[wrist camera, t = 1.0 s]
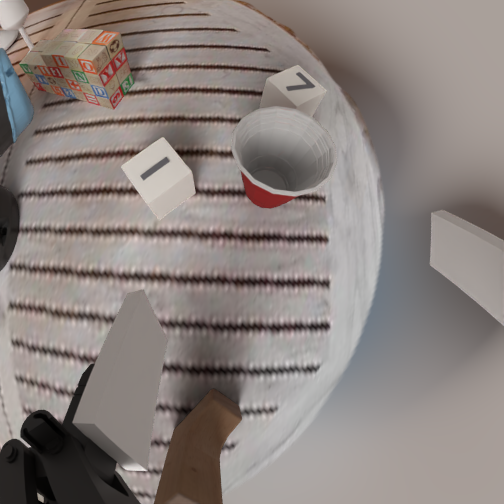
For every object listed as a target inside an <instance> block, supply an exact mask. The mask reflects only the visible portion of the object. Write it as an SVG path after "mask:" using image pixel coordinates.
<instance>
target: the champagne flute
mask: <svg viewBox="0 0 504 504" xmlns="http://www.w3.org/2000/svg"><path fill="white" fill-rule="evenodd" d="M28 12H29V8H28V7H27V5H26V4H25V2H24V1H23V0H0V24H1V27H2V29H3V30H7V31H11V30H17V29H18V30H19V32H20V33H21V35H22V37H23V38H24V40H25V42H26V44H27V45H28V47H29V49H30V51H31V49H32V48H33V47H34V45H33V43H32V42H31V40H30V38H29V36H28V35H27V33H26V31H25V29H24V27H23V25H24V23H25V21H26V18H27V16H28ZM30 51H29V52H30ZM29 52H28V53H29ZM28 53H27V54H28Z"/></svg>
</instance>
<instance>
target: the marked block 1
mask: <svg viewBox="0 0 504 504" xmlns="http://www.w3.org/2000/svg"><path fill="white" fill-rule="evenodd" d="M121 168H122V169H123V171H124V172H125V174H126V175H127V177H128V178H129V180H130V181H131V182H132V184H133V185H134V187H135V188H136V190H137V191H138V192H139V194H140V195H141V197H142V198H143V199H144V201H145V202H146V204H147V205H148V206H149V208H150V209H151V210H152V212H153V213H154V215H155V216H156V217H157V219H158V220H161V219H162V218H163V217H165V216H166V215H167V214H169V213H170V212H171V211H172V210H174V209H175V208H176V207H178V206H179V205H180V204H182V203H183V202H184V201H186V200H187V199H188V198H190V197H191V196H193V195H194V194H195V193H196V192H195V186H194V180H193V174H192V171H191V170H190V169H189V168H188V166H187V165H186V164H185V163H184V162H183V160H182V159H181V158H180V157H179V155H178V154H177V153H176V152H175V151H174V149H173V148H172V147H171V146H170V144H169V143H168V142H167V141H166V140H165V138H164V137H162V138H160V139H159V140H157V141H156V142H154V143H153V144H151V145H150V146H149V147H147V148H146V149H144V150H143V151H141V152H140V153H139V154H137V155H136V156H134V157H133V158H132V159H130V160H129V161H128V162H126V163H125V164H124V165H122V166H121Z"/></svg>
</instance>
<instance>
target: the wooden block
mask: <svg viewBox="0 0 504 504" xmlns="http://www.w3.org/2000/svg"><path fill="white" fill-rule="evenodd" d="M241 420H242V416H241V412H240V408H239V406H238V405H237V404H236V403H234V402H233V401H231V400H230V399H229V398H227V397H226V396H224V395H223V394H221V393H220V392H219V391H217V390H216V389H211V390H210V391H209V392H208V394H207V395H206V396H205V397H204V398H203V399H202V400H201V401H200V402H199V404H198V405H197V406H196V407H195V408H194V409H193V410H192V411H191V412H190V413H189V414H188V415H187V417H186V418H185V419H184V420H183V421H182V422H181V423H180V424H179V425H178V426H177V427H176V428H175V429H174V432H173V435H172V438H171V442H170V445H169V449H168V453H167V456H166V460H165V464H164V468H163V471H162V475H161V479H160V482H159V486H158V490H157V494H156V497H155V501H154V504H223V503H222V489H221V474H220V454H221V449H222V447H223V445H224V443H225V441H226V439H227V437H228V436H229V434H230V433H231V432H232V431H233V430H234V429H235V427H236V426H237V425H238V424H239V423H240V421H241Z"/></svg>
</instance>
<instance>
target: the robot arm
mask: <svg viewBox="0 0 504 504" xmlns="http://www.w3.org/2000/svg"><path fill="white" fill-rule="evenodd" d="M33 115H34V109H33V105H32V103H31V101H30V99H29V97H28V95H27V93H26V91H25V89H24V87H23V85H22V84H21V82H20V80H19V78H18V76H17V74H16V72H15V71H14V68H13V66H12V64H11V62H10V60H9V58H8V56H7V54H6V52H5V50H4V49H3V48H0V157H1V156H2V155H3V153H4V152H5V151H6V150H7V149H8V147H9V146H10V145H11V144H12V143H15V142H16V140H17V137H18V136H19V135H20V134H21V133H22V132H23V130H24V129H25V128H26V127H27V126H28V125H29V124H30V122H31V121H32V118H33ZM18 226H19V213H18V206H17V203H16V200H15V198H14V196H13V194H12V193H11V192H10V191H9V190H7V189H6V188H4V187H2V186H1V185H0V271H1V270H2V269H3V268H4V266H5V265H6V263H7V262H8V260H9V258H10V256H11V254H12V252H13V249H14V246H15V243H16V239H17V234H18ZM430 265H431V266H432V267H433V268H435V269H436V270H437V271H439V272H440V273H441V274H443V275H444V276H445V277H446V278H448V279H449V280H450V281H451V282H453V283H454V284H455V285H457V286H458V287H459V288H460V289H462V290H463V291H464V292H465V293H466V294H467V295H469V296H470V297H471V298H472V299H474V300H475V301H476V302H477V303H478V304H479V305H481V306H482V307H483V308H484V309H485V310H486V311H488V312H489V313H490V314H491V315H492V316H493V317H494V318H495V319H497V320H498V321H499V322H500V323H501V324H502V325H503V326H504V240H502V239H500V238H498V237H496V236H495V235H493V234H491V233H489V232H487V231H485V230H483V229H481V228H479V227H477V226H475V225H473V224H471V223H469V222H467V221H465V220H463V219H461V218H459V217H457V216H455V215H453V214H451V213H448V212H446V211H444V210H440V211H436V212H433V213H431V255H430ZM167 342H168V339H167V337H166V335H165V333H164V331H163V329H162V327H161V325H160V323H159V321H158V319H157V317H156V315H155V313H154V311H153V309H152V307H151V305H150V303H149V300H148V298H147V296H146V294H145V292H144V290H140V291H136V292H132V293H128V294H127V296H126V298H125V300H124V302H123V304H122V306H121V308H120V310H119V312H118V314H117V316H116V318H115V321H114V323H113V325H112V327H111V329H110V331H109V333H108V336H107V338H106V340H105V342H104V344H103V347H102V349H101V351H100V353H99V356H98V358H97V360H96V363H95V364H91V365H90V366H89V367H88V368H87V369H86V371H85V372H84V373H83V374H82V376H81V379H80V381H79V383H78V387H77V388H76V391H75V393H74V395H75V396H73V398H72V401H71V403H70V406H69V408H68V411H67V413H66V416H65V419H64V421H63V424H62V425H61V424H60V423H59V422H58V421H57V420H56V419H55V418H54V417H53V416H52V415H51V414H50V412H48V411H46V410H38V411H36V412H33V413H32V414H31V415H29V416H28V417H27V418H26V420H25V421H24V423H23V425H22V428H21V438H22V439H23V440H24V441H26V442H27V443H28V444H29V445H30V446H31V447H30V448H28V447H27V446H25V445H24V444H23V443H22V442H21V441H20V440H17V439H11V440H9V441H8V442H6V443H5V444H4V445H3V447H2V450H1V452H0V504H140V502H139V501H138V500H137V498H136V497H135V496H134V494H133V493H132V491H131V490H130V489H129V487H128V486H127V484H126V483H125V481H124V480H123V479H122V477H121V476H120V475H119V474H118V473H117V472H116V471H115V468H116V463H118V464H119V465H121V466H122V467H123V468H125V469H126V470H133V471H147V470H148V461H149V453H150V445H151V437H152V430H153V423H154V416H155V410H156V403H157V397H158V391H159V385H160V380H161V374H162V368H163V363H164V358H165V352H166V347H167ZM37 493H39V494H40V495H42V496H43V497H44V503H42V502H40V501H39V500H38V496H37Z"/></svg>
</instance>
